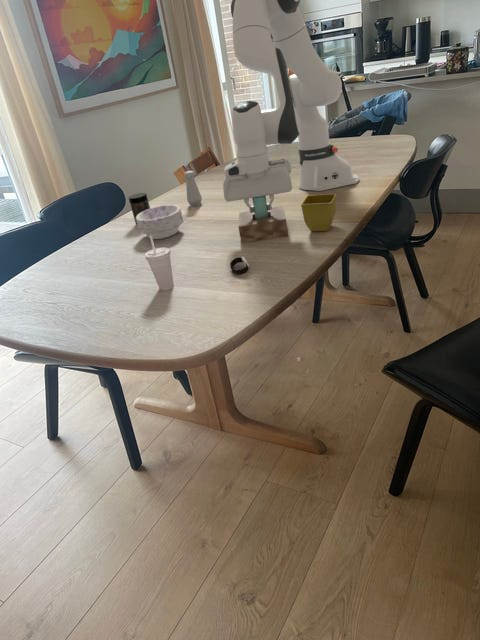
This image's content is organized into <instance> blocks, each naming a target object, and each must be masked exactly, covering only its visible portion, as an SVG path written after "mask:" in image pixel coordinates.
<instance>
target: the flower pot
mask: <svg viewBox="0 0 480 640" xmlns="http://www.w3.org/2000/svg"><path fill="white" fill-rule="evenodd" d="M300 205H301V210H302V215H303V219H304V222H305V225H306V227H307V229H309V231H310V232H328V231H329V230H330V228H331V226H332V224H333V221H334V218H335V215H336V207H337V193H326V194H325V193H324V194H323V193H322V194H311V195H310V194H309V195H306V196H305V198H304V199H303V201H302V202H301V204H300Z"/></svg>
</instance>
